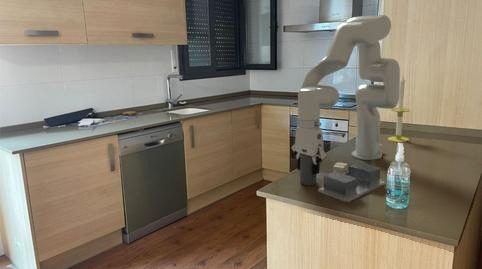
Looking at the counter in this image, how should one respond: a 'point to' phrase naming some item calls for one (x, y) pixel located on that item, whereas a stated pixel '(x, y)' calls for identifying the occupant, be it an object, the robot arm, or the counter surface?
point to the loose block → (340, 168)
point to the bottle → (306, 169)
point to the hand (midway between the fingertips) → (308, 171)
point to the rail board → (352, 182)
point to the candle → (400, 115)
